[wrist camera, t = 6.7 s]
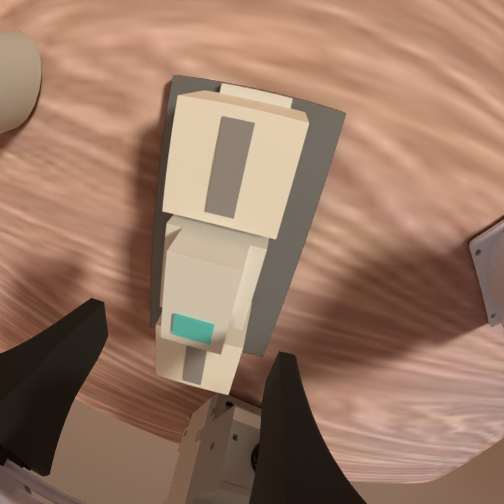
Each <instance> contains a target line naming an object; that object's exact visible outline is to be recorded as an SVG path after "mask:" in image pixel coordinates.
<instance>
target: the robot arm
mask: <svg viewBox="0 0 504 504" xmlns="http://www.w3.org/2000/svg"><path fill="white" fill-rule="evenodd" d="M469 250H470V253H471V256H472V259H473V263H474V266H475V269H476V273H477V276H478V280H479V284H480V288H481V292H482V296H483V300H484V304H485V308H486V313H487V317H488V322H489V324H490V326H491V327H494V326H496V325H498V324H499V323H501V324H502V326H503V327H504V219H503V220H502V221H500V222H499V223H497V224H496V225H494V226H493V227H491V228H490V229H488V230H487V231H485V232H484V233H482V234H480V235H479V236H477V237H476V238H474V239H473V240H472V241H471V242H470V243H469ZM477 250H479V251H478V252H477V253H476V251H477ZM107 337H108V330H107V323H106V315H105V306H104V302H102V301H99V300H96V299H93V298H91V299H89V300H88V301H86V302H85V303H83V304H82V305H80V306H79V307H78V308H76V309H75V310H73V311H72V312H71V313H69V314H68V315H66V316H65V317H64V318H62V319H61V320H59V321H58V322H56V323H55V324H53V325H52V326H50V327H49V328H47V329H46V330H44V331H42V332H41V333H39V334H38V335H36V336H35V337H33V338H31V339H29V340H28V341H26V342H24V343H22V344H20V345H18V346H16V347H14V348H12V349H10V350H7V351H5V352H3V353H0V504H46V503H44V502H42V501H40V500H39V499H37V498H36V497H34V496H32V494H31V491H30V489H31V490H32V491H34V492H36V493H37V494H39V495H41V496H43V497H44V498H46V499H48V500H50V501H52V502H54V503H55V504H89V503H86V502H84V501H82V500H80V499H78V498H75V497H73V496H71V495H69V494H67V493H65V492H63V491H61V490H60V489H57V488H56V487H54V486H52V485H50V484H48V483H47V482H45V481H43V480H41V479H39V478H38V477H36V476H34V475H33V474H30V473H29V472H28V471H26V470H24V469H23V467H25V468H26V469H28V470H29V471H30V470H33V471H34V472H36V473H38V474H39V475H41V476H47V475H49V474H50V470H51V466H52V462H53V458H54V454H55V450H56V447H57V443H58V440H59V437H60V433H61V431H62V428H63V425H64V423H65V420H66V417H67V415H68V412H69V410H70V407H71V405H72V403H73V401H74V399H75V397H76V395H77V393H78V391H79V390H80V388H81V386H82V384H83V383H84V381H85V379H86V378H87V376H88V374H89V373H90V371H91V369H92V368H93V366H94V364H95V362H96V361H97V359H98V357H99V356H100V353H101V351H102V349H103V347H104V344H105V342H106V340H107ZM249 504H367V503H366V502H365V501H364V500H363V499H362V497H361V496H360V495H359V494H358V493H357V491H356V490H355V489H354V488H353V486H352V485H351V484H350V482H349V481H348V480H347V478H346V477H345V475H344V474H343V472H342V471H341V469H340V468H339V466H338V465H337V463H336V461H335V460H334V458H333V457H332V455H331V453H330V451H329V449H328V447H327V446H326V444H325V442H324V440H323V438H322V436H321V433H320V431H319V429H318V427H317V424H316V422H315V419H314V417H313V415H312V412H311V409H310V406H309V403H308V400H307V397H306V394H305V391H304V388H303V385H302V381H301V377H300V373H299V369H298V365H297V360H296V356H295V355H294V354H289V353H284V352H280V351H279V353H278V355H277V357H276V360H275V362H274V364H273V366H272V369H271V371H270V373H269V375H268V378H267V380H266V384H265V389H264V395H263V400H262V409H261V424H260V439H259V453H258V461H257V466H256V471H255V477H254V482H253V486H252V491H251V496H250V500H249Z"/></svg>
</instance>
